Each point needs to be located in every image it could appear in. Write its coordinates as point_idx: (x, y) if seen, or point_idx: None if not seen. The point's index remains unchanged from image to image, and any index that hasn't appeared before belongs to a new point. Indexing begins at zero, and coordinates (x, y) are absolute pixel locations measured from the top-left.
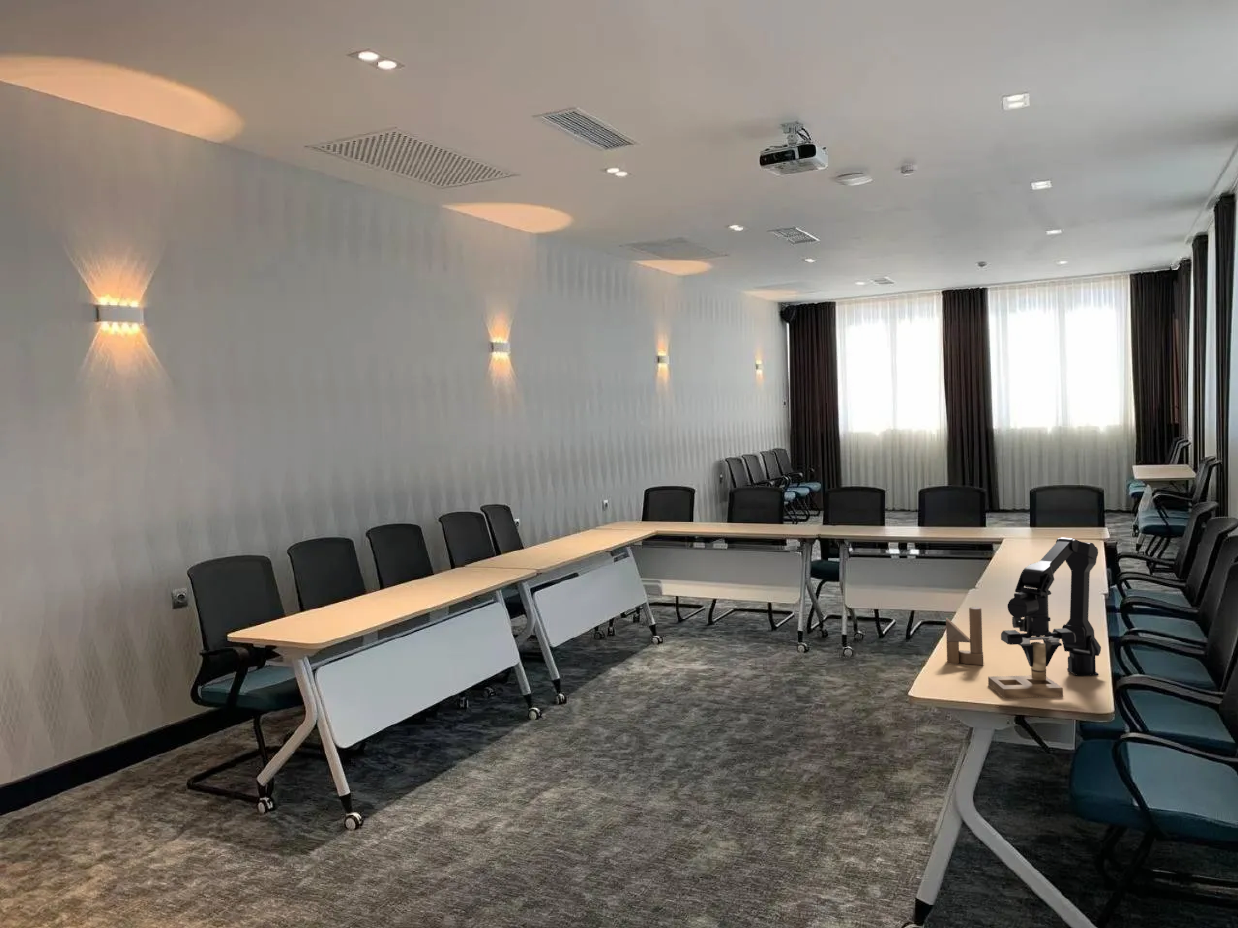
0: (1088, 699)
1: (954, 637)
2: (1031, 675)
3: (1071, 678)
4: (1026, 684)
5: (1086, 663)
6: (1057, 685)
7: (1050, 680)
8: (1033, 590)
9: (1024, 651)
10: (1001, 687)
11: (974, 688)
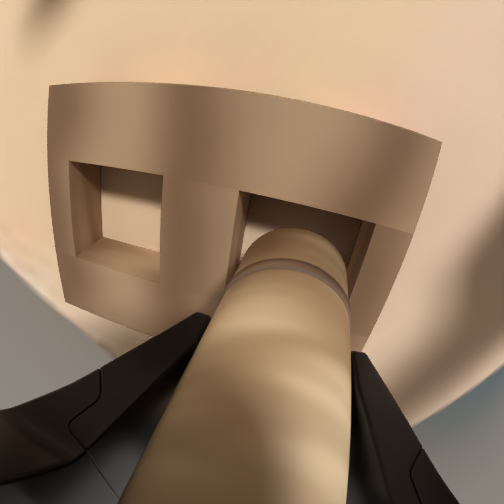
0: (403, 398)
1: None
2: (243, 257)
3: None
4: (182, 288)
5: None
6: None
7: (386, 272)
8: None
9: (68, 400)
10: (61, 276)
11: (26, 132)
